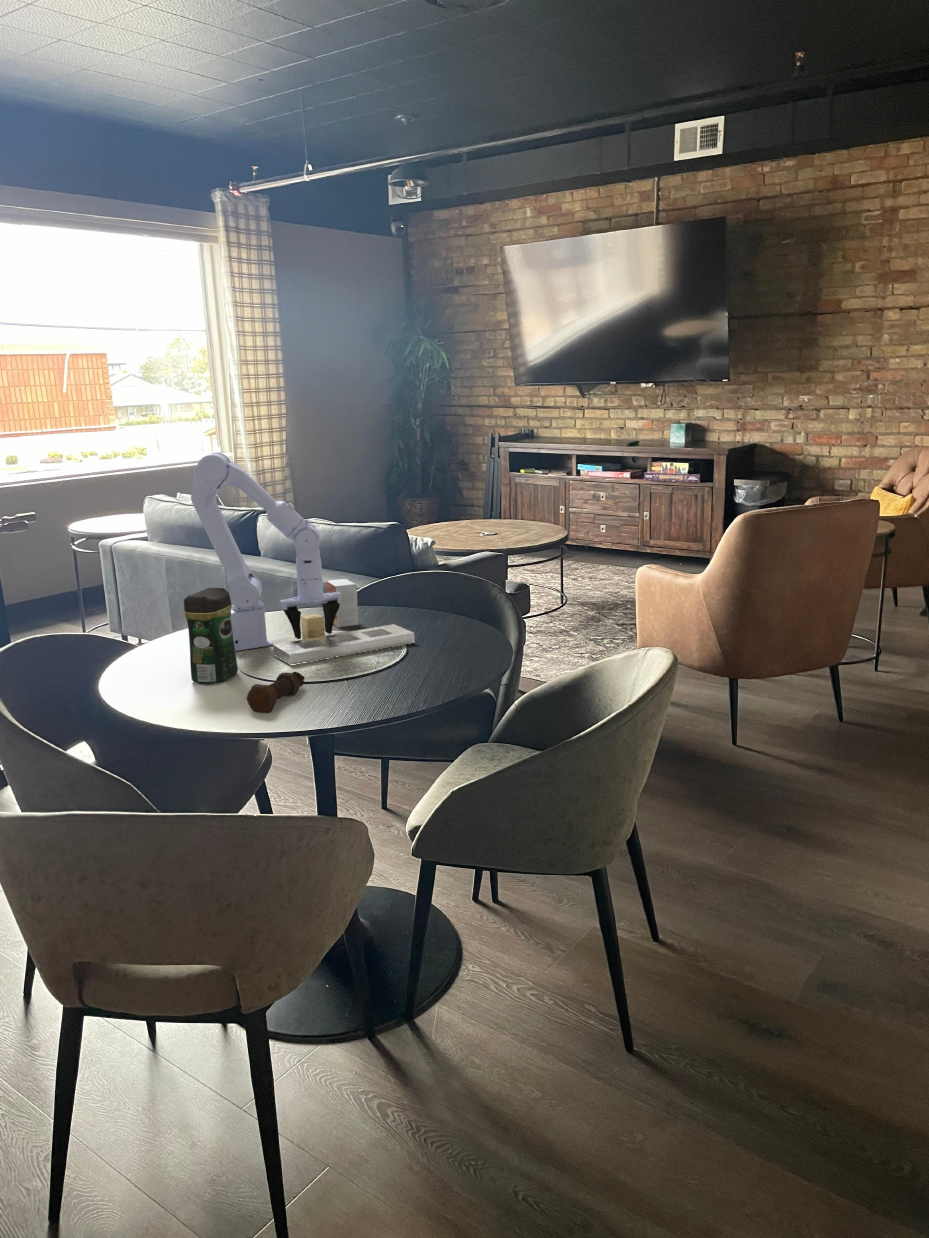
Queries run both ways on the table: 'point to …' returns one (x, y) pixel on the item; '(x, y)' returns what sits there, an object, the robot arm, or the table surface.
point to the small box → (345, 602)
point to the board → (343, 644)
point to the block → (312, 626)
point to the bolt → (274, 691)
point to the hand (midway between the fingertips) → (313, 635)
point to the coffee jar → (210, 636)
